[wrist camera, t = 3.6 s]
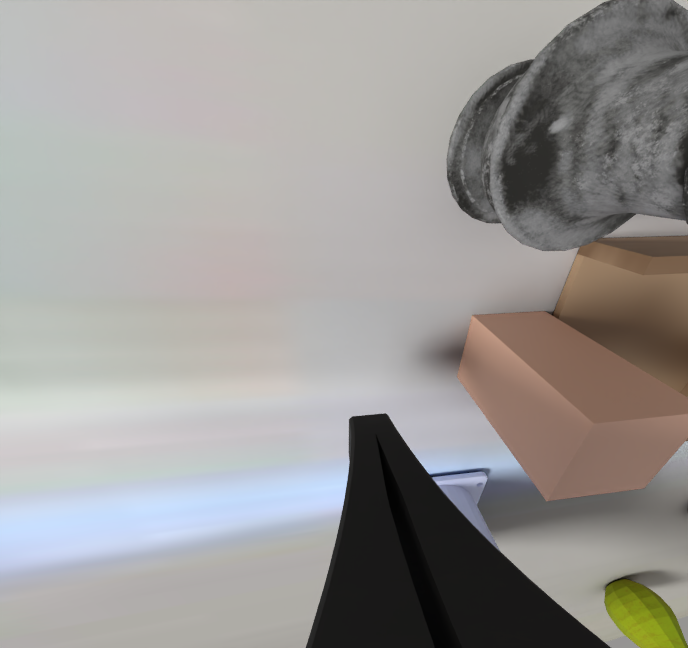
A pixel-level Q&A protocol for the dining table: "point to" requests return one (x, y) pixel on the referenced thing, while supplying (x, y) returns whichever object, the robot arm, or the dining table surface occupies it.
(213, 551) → the dining table surface
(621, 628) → the fruit
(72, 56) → the dining table surface
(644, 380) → the tall block
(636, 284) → the walnut tray
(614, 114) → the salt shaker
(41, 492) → the dining table surface
